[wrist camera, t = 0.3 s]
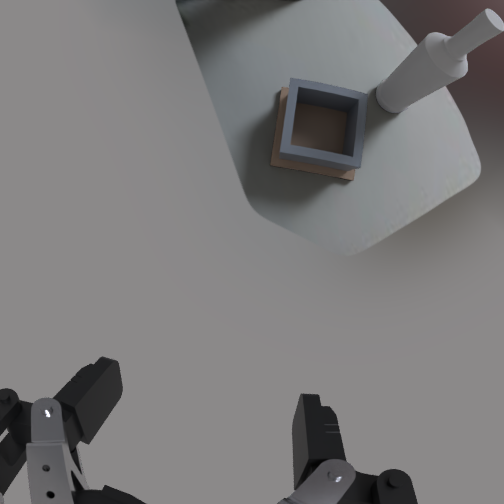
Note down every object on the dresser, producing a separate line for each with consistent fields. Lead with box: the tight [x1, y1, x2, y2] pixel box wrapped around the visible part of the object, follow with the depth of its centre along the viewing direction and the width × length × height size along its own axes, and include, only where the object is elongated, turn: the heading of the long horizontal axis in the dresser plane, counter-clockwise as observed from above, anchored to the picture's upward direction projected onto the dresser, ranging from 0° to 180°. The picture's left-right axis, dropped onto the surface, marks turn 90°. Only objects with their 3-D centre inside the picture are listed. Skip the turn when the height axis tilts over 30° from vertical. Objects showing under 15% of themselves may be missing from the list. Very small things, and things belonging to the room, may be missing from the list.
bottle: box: [376, 9, 504, 113], centre depth 21 cm, size 5×5×25 cm
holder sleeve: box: [270, 78, 368, 181], centre depth 32 cm, size 11×11×7 cm
